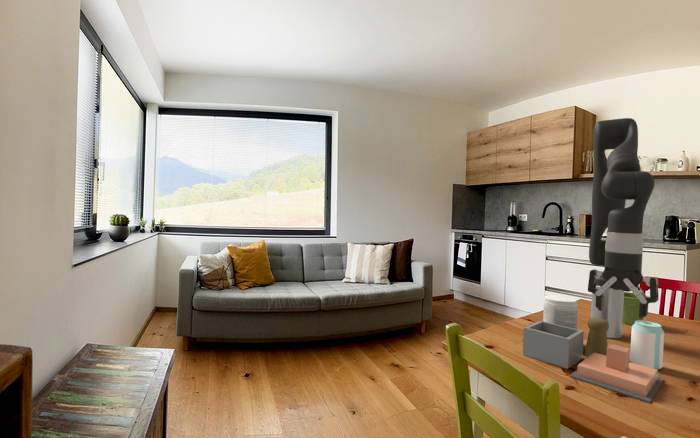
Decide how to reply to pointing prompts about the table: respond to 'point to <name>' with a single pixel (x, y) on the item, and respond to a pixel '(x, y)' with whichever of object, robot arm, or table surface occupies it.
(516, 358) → the table surface
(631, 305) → the plant pot
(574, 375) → the mat
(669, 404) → the table surface
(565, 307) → the supplement tub
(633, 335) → the can
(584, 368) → the lid
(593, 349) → the pepper mill
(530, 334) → the storage box
